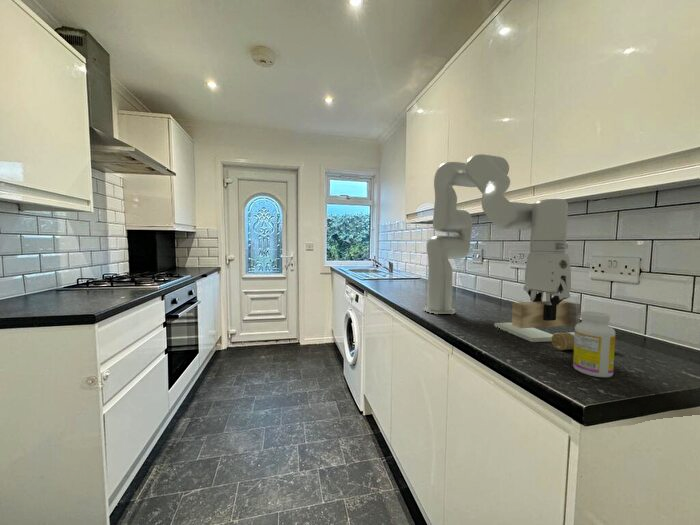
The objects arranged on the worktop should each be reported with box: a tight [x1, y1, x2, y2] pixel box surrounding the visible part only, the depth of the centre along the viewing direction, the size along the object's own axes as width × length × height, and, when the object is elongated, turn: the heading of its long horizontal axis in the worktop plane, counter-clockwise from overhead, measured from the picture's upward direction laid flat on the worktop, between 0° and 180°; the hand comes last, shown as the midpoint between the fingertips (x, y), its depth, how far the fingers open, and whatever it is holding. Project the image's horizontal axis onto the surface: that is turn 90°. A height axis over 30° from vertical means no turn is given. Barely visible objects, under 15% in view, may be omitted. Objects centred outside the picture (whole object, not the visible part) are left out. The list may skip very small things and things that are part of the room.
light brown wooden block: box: [511, 300, 581, 329], centre depth 73 cm, size 15×7×6 cm, turn 100°
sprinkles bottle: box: [550, 331, 575, 351], centre depth 75 cm, size 5×5×13 cm
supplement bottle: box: [572, 310, 616, 378], centre depth 61 cm, size 7×7×13 cm
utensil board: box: [493, 322, 554, 343], centre depth 89 cm, size 16×9×1 cm, turn 9°
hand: (543, 317), depth 74 cm, fingers closed on light brown wooden block, 3 cm apart
